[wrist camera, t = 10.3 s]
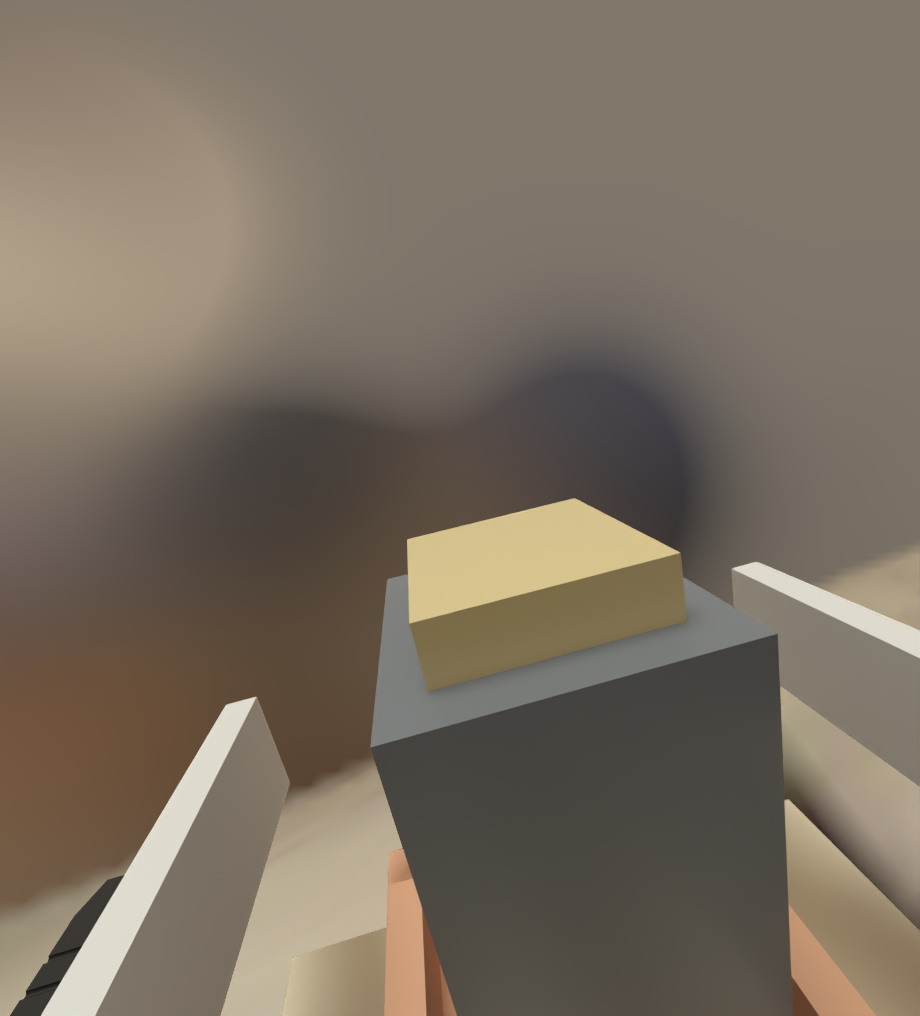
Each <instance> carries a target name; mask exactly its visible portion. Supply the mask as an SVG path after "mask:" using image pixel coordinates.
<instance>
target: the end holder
mask: <svg viewBox="0 0 920 1016" xmlns="http://www.w3.org/2000/svg"><path fill="white" fill-rule="evenodd" d="M789 929H790V955H791V980H792V1005H793V1016H876V1015H875V1013H874V1012H873V1011H872V1010H871V1008H870V1007H869V1006H868V1004H867V1003H866V1002H865V1001H864V999H863V998H862V997H861V996H860V994H859V993H858V992H857V990H856V989H855V988H854V987H853V985H852V984H851V983H850V982H849V980H848V979H847V978H846V976H845V975H844V974H843V973H842V971H841V970H840V969H839V968H838V966H837V965H836V964H835V962H834V961H833V960H832V959H831V957H830V956H829V955H828V954H827V952H826V951H825V950H824V948H823V947H822V946H821V945H820V943H819V942H818V941H817V940H816V938H815V937H814V936H813V934H812V933H811V932H810V931H809V929H808V928H807V927H806V926H805V924H804V923H803V922H802V920H801V919H800V918H799V917H798V915H797V914H796V913H795V912H794V910H793V909H792V908H791V906H790V905H789ZM384 1016H457V1014H456V1011H455V1008H454V1005H453V1002H452V999H451V996H450V993H449V989H448V986H447V983H446V980H445V977H444V974H443V971H442V968H441V965H440V962H439V958H438V955H437V952H436V949H435V946H434V943H433V940H432V937H431V934H430V931H429V927H428V924H427V921H426V918H425V915H424V912H423V909H422V906H421V903H420V900H419V896H418V893H417V890H416V887H415V884H414V881H413V878H412V875H411V872H410V869H409V865H408V862H407V859H406V856H405V853H404V850H403V848H402V849H399V850H396V851H392V852H389V865H388V900H387V935H386V971H385V1006H384Z"/></svg>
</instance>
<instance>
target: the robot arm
mask: <svg viewBox="0 0 920 1016" xmlns="http://www.w3.org/2000/svg"><path fill="white" fill-rule="evenodd" d="M732 582H733V598H734V608H736V609H737V610H739V611H741V612H742V613H744V614H746V615H747V616H749V617H751V618H752V619H754V620H756V621H757V622H759V623H761V624H762V625H764V626H766V627H768V628H769V629H771V630H773V631H774V632H776V633H778V652H779V677H780V686H782V687H783V688H784V689H786V690H787V691H789V692H790V693H791V694H793V695H794V696H795V697H797V698H798V699H800V700H801V701H802V702H804V703H805V704H806V705H808V706H809V707H811V708H812V709H813V710H815V711H816V712H818V713H819V714H820V715H822V716H823V717H824V718H826V719H827V720H829V721H830V722H831V723H833V724H834V725H835V726H837V727H838V728H840V729H841V730H842V731H844V732H845V733H847V734H848V735H849V736H851V737H852V738H853V739H855V740H856V741H858V742H859V743H860V744H862V745H863V746H865V747H866V748H867V749H869V750H870V751H871V752H873V753H874V754H876V755H877V756H878V757H880V758H881V759H882V760H884V761H885V762H887V763H888V764H889V765H891V766H892V767H894V768H895V769H896V770H898V771H899V772H900V773H902V774H903V775H905V776H906V777H907V778H909V779H910V780H911V781H913V782H914V783H916V784H917V785H918V786H920V631H919V630H917V629H914V628H912V627H910V626H907V625H905V624H903V623H900V622H898V621H896V620H893V619H891V618H888V617H886V616H884V615H881V614H879V613H877V612H874V611H872V610H870V609H867V608H865V607H863V606H860V605H858V604H855V603H853V602H851V601H848V600H846V599H844V598H841V597H839V596H837V595H834V594H832V593H829V592H827V591H825V590H822V589H820V588H818V587H815V586H813V585H811V584H808V583H806V582H803V581H801V580H799V579H796V578H794V577H791V576H789V575H787V574H784V573H782V572H780V571H777V570H775V569H773V568H770V567H768V566H766V565H763V564H761V563H759V562H754V563H750V564H747V565H743V566H739V567H736V568H732ZM289 784H290V782H289V779H288V777H287V774H286V771H285V769H284V766H283V764H282V761H281V759H280V756H279V753H278V751H277V748H276V745H275V743H274V740H273V738H272V736H271V733H270V730H269V727H268V725H267V722H266V720H265V717H264V714H263V712H262V709H261V707H260V704H259V702H258V699H257V697H254V698H250V699H246V700H243V701H239V702H235V703H232V704H228V705H226V706H225V708H224V710H223V711H222V713H221V714H220V716H219V718H218V719H217V721H216V723H215V725H214V726H213V728H212V730H211V731H210V733H209V735H208V736H207V738H206V740H205V741H204V743H203V745H202V746H201V748H200V750H199V751H198V753H197V755H196V757H195V758H194V760H193V761H192V763H191V765H190V766H189V768H188V770H187V771H186V773H185V775H184V776H183V778H182V780H181V782H180V783H179V785H178V787H177V788H176V790H175V792H174V793H173V795H172V797H171V798H170V800H169V802H168V803H167V805H166V807H165V809H164V810H163V812H162V814H161V815H160V817H159V819H158V820H157V822H156V824H155V825H154V827H153V828H152V830H151V832H150V834H149V835H148V837H147V838H146V840H145V842H144V844H143V845H142V847H141V849H140V850H139V852H138V854H137V855H136V857H135V859H134V860H133V862H132V864H131V865H130V867H129V869H128V870H127V872H126V874H125V875H123V876H119V877H116V878H112V879H109V880H107V881H106V882H105V883H104V884H103V885H102V887H101V888H100V889H99V890H98V891H97V892H96V893H95V894H94V895H93V896H92V897H91V899H90V900H89V901H88V902H87V903H86V904H85V905H84V906H83V907H82V908H81V910H80V911H79V912H78V913H77V914H76V915H75V916H74V918H73V919H72V921H71V922H70V924H69V925H68V927H67V928H66V930H65V932H64V933H63V935H62V936H61V938H60V939H59V941H58V942H57V944H56V945H55V947H54V949H53V950H52V952H51V953H50V955H49V960H48V962H47V963H46V964H43V965H42V967H41V969H40V970H39V972H38V973H37V975H36V976H35V978H34V979H33V981H32V982H31V984H30V986H29V987H28V989H27V990H26V996H25V998H24V999H23V1000H20V1001H19V1003H18V1004H17V1006H16V1007H15V1009H14V1010H13V1012H12V1013H11V1015H10V1016H220V1015H221V1011H222V1008H223V1005H224V1001H225V998H226V995H227V991H228V988H229V985H230V981H231V978H232V975H233V971H234V968H235V965H236V961H237V958H238V955H239V951H240V948H241V945H242V941H243V938H244V935H245V931H246V928H247V925H248V921H249V918H250V915H251V911H252V908H253V905H254V901H255V898H256V895H257V891H258V888H259V885H260V881H261V878H262V875H263V871H264V868H265V865H266V861H267V858H268V855H269V851H270V848H271V845H272V841H273V838H274V834H275V831H276V828H277V824H278V821H279V818H280V814H281V811H282V808H283V804H284V801H285V798H286V794H287V791H288V788H289Z"/></svg>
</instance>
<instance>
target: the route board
mask: <svg viewBox="0 0 920 1016" xmlns="http://www.w3.org/2000/svg"><path fill="white" fill-rule="evenodd" d="M784 803H785V828H786V854H787V879H788V904H789V905H790V906H791V908H792V909H793V910H794V912H795V913H796V914H797V915H798V917H799V918H800V919H801V920H802V922H803V923H804V924H805V926H806V927H807V928H808V929H809V931H810V932H811V933H812V934H813V936H814V937H815V938H816V940H817V941H818V942H819V943H820V945H821V946H822V947H823V948H824V950H825V951H826V952H827V954H828V955H829V956H830V957H831V959H832V960H833V961H834V962H835V964H836V965H837V966H838V968H839V969H840V970H841V971H842V973H843V974H844V975H845V976H846V978H847V979H848V980H849V982H850V983H851V984H852V985H853V987H854V988H855V989H856V990H857V992H858V993H859V994H860V996H861V997H862V998H863V999H864V1001H865V1002H866V1003H867V1004H868V1006H869V1007H870V1008H871V1010H872V1011H873V1012H874V1013H875V1015H876V1016H920V931H919V930H918V929H917V928H916V927H915V926H914V925H913V924H912V923H911V922H910V921H909V920H908V919H907V918H906V917H905V916H904V915H903V914H902V913H901V912H900V911H899V910H898V909H897V908H896V907H895V906H894V905H893V904H892V903H891V902H890V901H889V900H888V899H887V898H886V897H885V896H884V895H883V894H882V893H881V892H880V891H879V890H878V889H877V888H876V887H875V886H874V885H873V884H872V883H871V882H870V881H869V880H868V879H867V878H866V877H865V876H864V875H863V874H862V873H861V872H860V871H859V870H858V869H857V868H856V867H855V866H854V865H853V864H852V862H851V861H850V860H849V859H848V858H847V857H846V856H845V855H844V854H843V853H842V852H841V851H840V850H839V849H838V848H837V847H836V846H835V845H834V844H833V843H832V842H831V841H830V840H829V839H828V838H827V837H826V836H825V835H824V834H823V833H822V832H821V831H820V830H819V829H818V828H817V827H816V826H815V825H814V824H813V823H812V822H811V821H810V820H809V819H808V818H807V817H806V816H805V815H804V814H803V813H802V812H801V811H800V810H799V809H798V808H797V807H796V806H795V805H794V804H793V803H792V802H791V801H790V800H789V799H788V800H785V801H784ZM386 935H387V928H384V929H381V930H378V931H374V932H371V933H368V934H365V935H362V936H359V937H356V938H352V939H349V940H346V941H343V942H340V943H337V944H334V945H331V946H327V947H324V948H321V949H318V950H315V951H312V952H309V953H305V954H302V955H299V956H296V957H293V959H292V964H291V969H290V974H289V979H288V984H287V989H286V994H285V999H284V1004H283V1009H282V1014H281V1016H384V1006H385V971H386Z"/></svg>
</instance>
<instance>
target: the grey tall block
mask: <svg viewBox="0 0 920 1016" xmlns="http://www.w3.org/2000/svg"><path fill="white" fill-rule="evenodd" d="M407 547H408V574H407V575H403V576H399V577H395V578H391V579H388V580H387V589H386V600H385V609H384V618H383V628H382V639H381V648H380V658H379V669H378V679H377V688H376V698H375V708H374V718H373V728H372V737H371V751H372V754H373V757H374V760H375V763H376V766H377V769H378V772H379V775H380V779H381V782H382V785H383V788H384V791H385V794H386V797H387V800H388V803H389V806H390V810H391V813H392V816H393V819H394V822H395V825H396V828H397V831H398V834H399V838H400V841H401V844H402V847H403V850H404V853H405V856H406V859H407V862H408V865H409V869H410V872H411V875H412V878H413V881H414V884H415V887H416V890H417V893H418V896H419V900H420V903H421V906H422V909H423V912H424V915H425V918H426V921H427V924H428V927H429V931H430V934H431V937H432V940H433V943H434V946H435V949H436V952H437V955H438V958H439V962H440V965H441V968H442V971H443V974H444V977H445V980H446V983H447V986H448V989H449V993H450V996H451V999H452V1002H453V1005H454V1008H455V1011H456V1014H457V1016H793V1005H792V980H791V955H790V929H789V904H788V879H787V854H786V828H785V803H784V778H783V753H782V728H781V702H780V677H779V652H778V633H776V632H774V631H773V630H771V629H769V628H768V627H766V626H764V625H762V624H761V623H759V622H757V621H756V620H754V619H752V618H751V617H749V616H747V615H746V614H744V613H742V612H741V611H739V610H737V609H736V608H734V607H732V606H731V605H729V604H727V603H726V602H724V601H722V600H721V599H719V598H717V597H716V596H714V595H712V594H710V593H709V592H707V591H706V590H704V589H702V588H701V587H699V586H697V585H695V584H694V583H692V582H691V581H689V580H687V579H685V578H684V577H683V574H682V563H681V553H680V552H678V551H676V550H674V549H672V548H670V547H668V546H666V545H664V544H662V543H660V542H658V541H656V540H655V539H653V538H651V537H649V536H647V535H645V534H643V533H641V532H639V531H637V530H635V529H633V528H631V527H629V526H627V525H625V524H623V523H622V522H620V521H618V520H616V519H614V518H612V517H610V516H608V515H606V514H604V513H602V512H600V511H598V510H596V509H594V508H592V507H590V506H589V505H586V504H585V503H583V502H581V501H579V500H577V499H570V500H566V501H562V502H558V503H554V504H549V505H545V506H541V507H537V508H533V509H529V510H525V511H521V512H517V513H513V514H509V515H505V516H501V517H497V518H493V519H489V520H485V521H480V522H476V523H473V524H468V525H464V526H460V527H456V528H452V529H448V530H444V531H440V532H436V533H432V534H428V535H424V536H419V537H415V538H412V539H408V540H407Z"/></svg>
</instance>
